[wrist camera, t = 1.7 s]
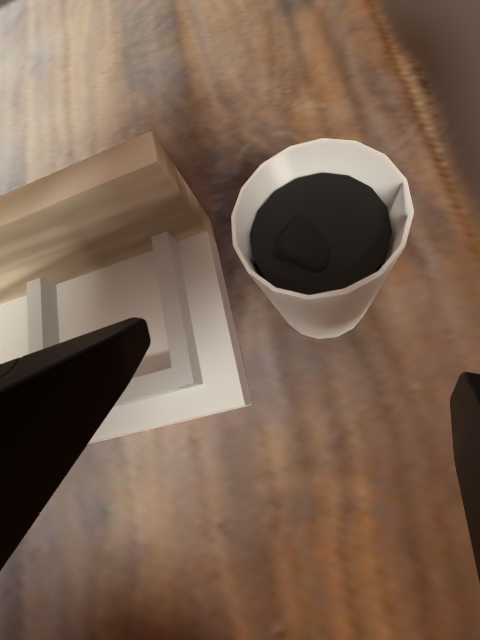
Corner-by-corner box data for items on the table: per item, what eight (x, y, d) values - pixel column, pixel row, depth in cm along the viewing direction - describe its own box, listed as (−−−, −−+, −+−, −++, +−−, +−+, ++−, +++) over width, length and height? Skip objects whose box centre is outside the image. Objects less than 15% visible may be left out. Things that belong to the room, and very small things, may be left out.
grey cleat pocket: (252, 404, 21) (238, 405, 18) (-19, 470, 25) (-71, 480, 22) (216, 243, 25) (198, 219, 21) (-17, 324, 29) (-61, 314, 26)
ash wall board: (216, 243, 25) (157, 161, 16) (-17, 324, 29) (-160, 292, 20) (211, 221, 25) (151, 130, 17) (-16, 303, 29) (-156, 263, 21)
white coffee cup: (346, 364, 20) (360, 331, 11) (254, 318, 22) (200, 257, 13) (395, 271, 21) (447, 164, 11) (300, 235, 23) (279, 121, 14)
